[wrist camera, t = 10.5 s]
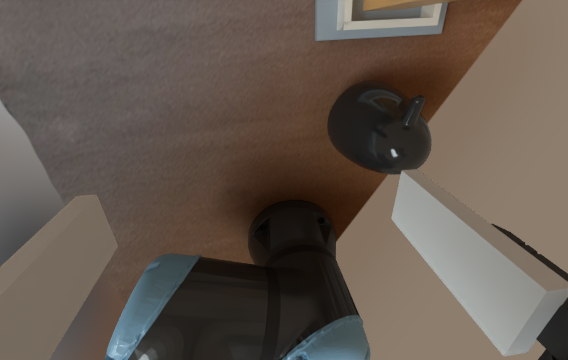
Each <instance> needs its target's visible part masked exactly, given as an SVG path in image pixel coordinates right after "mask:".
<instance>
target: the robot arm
mask: <svg viewBox="0 0 568 360" xmlns="http://www.w3.org/2000/svg"><path fill="white" fill-rule="evenodd" d="M391 219H392V220H393V222H394V223H395V224H396V225H397V227H398V228H399V229H400V230H401V232H402V233H403V234H404V235H405V236H406V238H407V239H408V240H409V241H410V243H411V244H412V245H413V246H414V247H415V249H416V250H417V251H418V252H419V253H420V255H421V256H422V257H423V258H424V260H425V261H426V262H427V263H428V265H429V266H430V267H431V268H432V269H433V271H434V272H435V273H436V274H437V275H438V277H439V278H440V279H441V280H442V282H443V283H444V284H445V285H446V286H447V288H448V289H449V290H450V291H451V293H452V294H453V295H454V296H455V297H456V299H457V300H458V301H459V302H460V304H461V305H462V306H463V307H464V309H465V310H466V311H467V312H468V313H469V315H470V316H471V317H472V318H473V320H474V321H475V322H476V323H477V324H478V326H479V327H480V328H481V329H482V331H483V332H484V333H485V334H486V335H487V337H488V338H489V339H490V340H491V342H493V344H494V345H495V346H496V348H497V349H498V350H499V351H500V353H501V354H502V355H503V356H509V355H514V354H520V353H526V352H528V351H529V349H530V348H531V346H532V345H533V344H534V343H535V341H536V340H538V341H539V342H540V343H541V344H542V345H543V346H544V347H545V348H546V350H545V351H544V353H543V354H542V356H541V357H540V358H539V359H538V360H568V274H567V273H566V272H565V271H563V270H562V269H560V268H559V267H558V266H556V265H555V264H553V263H552V262H551V261H549V260H548V259H547V258H545V257H544V256H542V255H541V254H538V253H537V251H536V250H534V249H533V248H531V247H530V246H529V245H525V242H523V241H522V240H520V239H519V238H517V237H516V236H515V235H513V234H512V233H511V232H509V231H507V230H505V229H502V228H500V227H498V226H496V225H494V224H490V223H488V222H487V221H486V220H484V219H483V218H482V217H480V216H479V215H478V214H476V213H475V212H474V211H472V210H471V209H469V208H468V207H467V206H466V205H464V204H463V203H462V202H460V201H459V200H458V199H456V198H455V197H454V196H452V195H451V194H450V193H448V192H447V191H446V190H444V189H443V188H442V187H440V186H439V185H438V184H436V183H435V182H434V181H432V180H431V179H429V178H428V177H427V176H426V175H424V174H423V173H421V172H420V171H419V170H418V169H412V170H402V171H401V176H400V181H399V185H398V190H397V195H396V199H395V204H394V209H393V213H392V218H391ZM117 247H118V245H117V243H116V240H115V238H114V235H113V233H112V231H111V228H110V226H109V223H108V221H107V219H106V216H105V214H104V211H103V209H102V207H101V204H100V202H99V199H98V197H97V195H85V196H76V197H75V198H74V199H73V200H72V201H70V202H69V203H68V204H67V205H66V206H65V207H64V208H63V209H62V210H61V211H60V212H59V213H58V214H57V215H56V216H54V217H53V218H52V219H51V220H50V221H49V222H48V223H47V224H46V225H45V226H44V227H43V228H42V229H41V230H39V231H38V232H37V233H36V234H35V235H34V236H33V237H32V238H31V239H30V240H29V241H28V242H27V243H26V244H24V245H23V247H21V248H20V249H19V250H18V251H17V252H16V253H15V254H14V255H13V256H12V257H11V258H9V260H7V261H6V262H5V263H4V264H3V265H2V266H1V267H0V360H49V359H50V357H51V355H52V354H53V352H54V351H55V349H56V347H57V346H58V344H59V342H60V340H61V339H62V338H63V336H64V334H65V333H66V331H67V329H68V328H69V326H70V324H71V323H72V321H73V319H74V318H75V316H76V315H77V313H78V311H79V310H80V308H81V306H82V305H83V303H84V301H85V300H86V298H87V296H88V295H89V293H90V291H91V290H92V288H93V287H94V285H95V283H96V282H97V280H98V278H99V277H100V275H101V274H102V272H103V270H104V269H105V267H106V265H107V264H108V262H109V260H110V259H111V257H112V255H113V254H114V252H115V251H116V249H117ZM248 248H249V253H250V256H251V258H252V260H253V262H254V264H255V265H253V264H246V263H239V262H232V261H226V260H219V259H212V258H205V257H201V255H196V256H191V255H181V254H164V255H161V256H159V257H157V258H156V259H154V260H153V261H152V262H151V263H150V265H149V266H148V267H147V268H146V270H145V271H144V273H143V274H142V276H141V278H140V279H139V281H138V283H137V285H136V287H135V288H134V290H133V292H132V294H131V296H130V298H129V300H128V302H127V304H126V306H125V308H124V310H123V312H122V315H121V317H120V319H119V321H118V323H117V326H116V328H115V330H114V333H113V335H112V338H111V340H110V343H109V346H108V349H107V354H106V357H105V360H370V347H369V343H368V341H367V337H366V334H365V332H364V328H363V321H362V319H361V317H360V316H359V314H358V311H357V309H356V307H355V304H354V302H353V299H352V297H351V295H350V292H349V290H348V287H347V285H346V283H345V281H344V278H343V276H342V273H341V271H340V268H339V266H338V264H337V261H336V233H335V229H334V226H333V224H332V222H331V219H330V217H329V216H328V214H327V213H326V212H325V211H324V210H323V209H322V208H320V207H319V206H317V205H315V204H313V203H310V202H307V201H300V200H291V201H284V202H280V203H277V204H275V205H272V206H270V207H268V208H267V209H265V210H264V211H262V212H261V213H260V214H259V215H258V216H257V217H256V218H255V220H254V221H253V223H252V224H251V227H250V229H249V234H248Z"/></svg>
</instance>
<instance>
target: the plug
mask: <svg viewBox="0 0 568 360" xmlns="http://www.w3.org/2000/svg"><path fill="white" fill-rule="evenodd" d="M452 1H458V0H364V2H363V11H376V10H398V9H408V8H414V7H420V6H427V5H433V4H439V3H445V2H452Z"/></svg>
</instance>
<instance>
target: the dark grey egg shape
mask: <svg viewBox="0 0 568 360" xmlns="http://www.w3.org/2000/svg"><path fill="white" fill-rule="evenodd" d="M424 103H425V98H424V97H423V96H421V95H416V96H414V97H413V98H412V100H410V99H409V98H408V97H407V96H406V95H405V94H403V93H402V92H401V91H399V90H398V89H396V88H395V87H393V86H391V85H389V84H387V83H384V82H380V81H364V82H361V83H358V84H356V85H353V86H352V87H350V88H348V89H347V90H346V91H345V92H343V93H342V94H341V95H340V96H339V97H338V99H337V100H336V101H335V103H334V104H333V106H332V109H331V111H330V114H329V117H328V135H329V138H330V140H331V142H332V144H333V146H334V147H335V148H336V149H337V150H338V151H339V152H340V153H341V154H342V155H343V156H344V157H346V158H347V159H349V160H350V161H352V162H353V163H355V164H357V165H359V166H361V167H363V168H365V169H368V170H371V171H375V172H379V173H384V174H401V171H402V170H412V169H417V168H419V167H420V166H421V165H422V164H423V163H424V162H425V161H426V159H427V158H428V156H429V154H430V151H431V134H430V131H429V128H428V125H427V123H426V121H425V119H424V117H423V116H422V114H421V110H422V107H423V105H424Z"/></svg>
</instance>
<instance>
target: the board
mask: <svg viewBox="0 0 568 360" xmlns="http://www.w3.org/2000/svg"><path fill="white" fill-rule="evenodd" d="M363 2H364V0H315V41H320V40H337V39H355V38H373V37H391V36H409V35H427V34H441V33H442V28H443V24H444V19H445V14H446V10H447V5H448V2H445V3H439V4H433V5H427V6H420V7H414V8H408V9H398V10H376V11H363Z"/></svg>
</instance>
